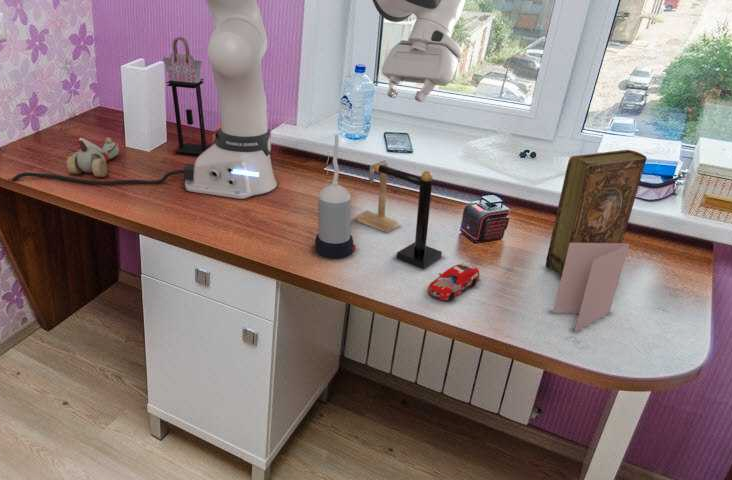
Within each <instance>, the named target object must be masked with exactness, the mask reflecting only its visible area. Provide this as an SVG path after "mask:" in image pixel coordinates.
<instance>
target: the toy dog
mask: <svg viewBox="0 0 732 480" xmlns="http://www.w3.org/2000/svg"><path fill="white" fill-rule="evenodd" d="M78 143H79V148H80V150H78V151H76V152H74V153H73V154H72V155H69V156H68V157H67V159H66V167H67V168H66V169H67V171H68V172H69V174H71V175H81V174H82V173H83V172H84V173H88V174H93V175H94V176H95V177H97V178H105V177H106V176H107V175H108V165H107V162H108V161H109V160H112V159H114V158H116V157H117V156H118V155H119V154H120V147H119V143H120V141H119V140H118V141H117V142H114V141H112V138H111V137H108V136H107V137H106V138H105V143H104V144H103V146H102V147H101V148H100V147H99V146H98V145H96V144H94V143H93V142H91V141H89V140H87V139H86V138H83V137H79V139H78Z"/></svg>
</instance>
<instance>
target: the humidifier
mask: <svg viewBox="0 0 732 480" xmlns="http://www.w3.org/2000/svg"><path fill="white" fill-rule="evenodd" d="M339 138H340V137H339V134H335V135H334V147H333V149H334V150H333V156H332V157H333V158H332V165H333V179H332V182H331V183H330V184H327V185H326V186H325V187H323V189H321V190H320V191H319V194H318V205H317V206H318V207H317V208H318V210H317V211H318V217H317V218H318V219H317V220H318V233H317V235H316V236H315V241H314V242H315V243H314V244H315V245H314V249H315V251H314V252H316V253H315V254H316V255H318V256H320V257H322V258H325V259H330V260H340V259H346V258H347V257H350V256H352V255H353V253H354V251H355V250H356V249H355V248H356V244H354V238H353V236H352V234H351V218H352V217H351V216H352V196H351V194H350V192H349V191H348V190H347V189H346V188H345V187H344V186H342V185H340V184H339V182H338V180H339V173H340V171H339V170H340V169H339V165H338V159H339V142H340V141H339V140H340V139H339ZM329 155H330V154H329V153H327V161H326V164H328V163H329V160H330V156H329ZM326 171H327V174H329V169H328V167H326Z"/></svg>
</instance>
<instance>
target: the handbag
mask: <svg viewBox="0 0 732 480" xmlns="http://www.w3.org/2000/svg"><path fill="white" fill-rule="evenodd" d="M178 41H180V42H182V44H183V45H184V51H185V54H182V53H181V54H180V53H178V47H177V45H178ZM162 61H163V63H164V65H165V68H166V72H167V82H165V84H166V85H165V86H167V87H171V90H172V100H173V107H174V115H175V116H174V117H175V123H176V124H175V125H176V131H177V139H178V146H179V147H178V148H177V149H176V150H175V151H174V152H175V155H181V156H191V157H199V155H201V154H202V153H203V152H204V151H206V150H207V149H208V148H209V147H211V145H209V144H207V139H206V138H207V137H206V131H205V130H206V127H205V120H204V119H205V117H204V110H203V100H202V91H201V90H202V89H201V85H202V84H204V83H205V81H204V80H205V79H204V78H201V70H202V64H203V61H201V60H196V59H194V55H193V54H192V55H191V54H190V46H189V43H188V41H187V39H186V38H184V37H183V36H177V37H176V38H174V39H173V41H172V53H170V54H169V57H162ZM177 88H183V89H184V88H185V89H195V92H196V93H195V94H196V103H197V111H198V120H199V121H198V122H199V131H200V139H201V144H199V143H189V142H185V143H184V137H183V127H182V121H181V113H180V105H179V96H178V89H177ZM185 115H186V123H187V125H190V126H192V125H194V117H193V110H192V109H189V108H187V109H186V110H185Z"/></svg>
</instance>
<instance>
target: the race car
mask: <svg viewBox="0 0 732 480" xmlns="http://www.w3.org/2000/svg"><path fill="white" fill-rule="evenodd" d="M438 275H439V276H438V277H436V279H434V280H433V281H431V282H430V283H429V285H428V287H427V292H428V294H429V295H430V296H431V297H432V298H435V299H437V300H440V301H449V302H451V301H453V299H454V298H456V297H457V296H459V295H460V294H462V293H464V292H465V291H467V290H468V289H470V288H473V287H475V286H476V284H477V283H478V282H479V279H480V270H479V268H478V267H477V266H474V265H472V264H470V263H459V264H455V265H453V266H451V267H449V268H448V269H446V270H445V271H444V272H442V273H441V272H439V273H438Z"/></svg>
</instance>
